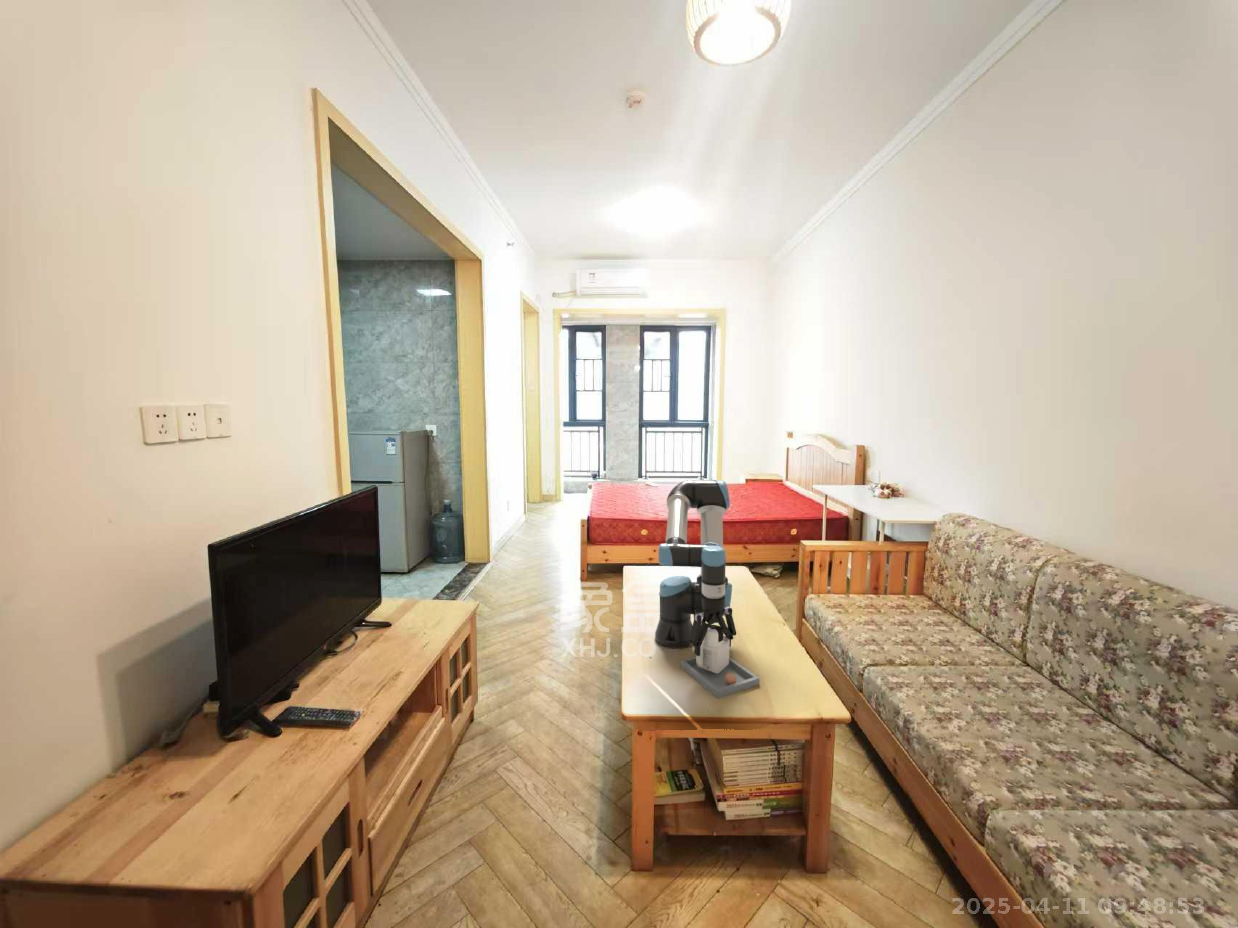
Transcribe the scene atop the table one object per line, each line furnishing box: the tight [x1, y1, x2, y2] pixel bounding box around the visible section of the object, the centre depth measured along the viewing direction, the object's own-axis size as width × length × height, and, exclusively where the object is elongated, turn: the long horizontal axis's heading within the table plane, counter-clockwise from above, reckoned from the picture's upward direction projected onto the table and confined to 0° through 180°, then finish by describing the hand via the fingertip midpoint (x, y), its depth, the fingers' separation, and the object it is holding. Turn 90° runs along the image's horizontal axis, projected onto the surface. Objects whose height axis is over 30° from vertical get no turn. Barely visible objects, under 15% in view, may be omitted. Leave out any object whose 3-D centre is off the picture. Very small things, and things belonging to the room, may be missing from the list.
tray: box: [680, 656, 760, 699], centre depth 153 cm, size 20×16×3 cm
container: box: [697, 624, 730, 674], centre depth 155 cm, size 8×8×13 cm
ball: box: [725, 673, 736, 685], centre depth 148 cm, size 4×4×4 cm
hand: (712, 660), depth 155 cm, fingers closed on container, 10 cm apart
